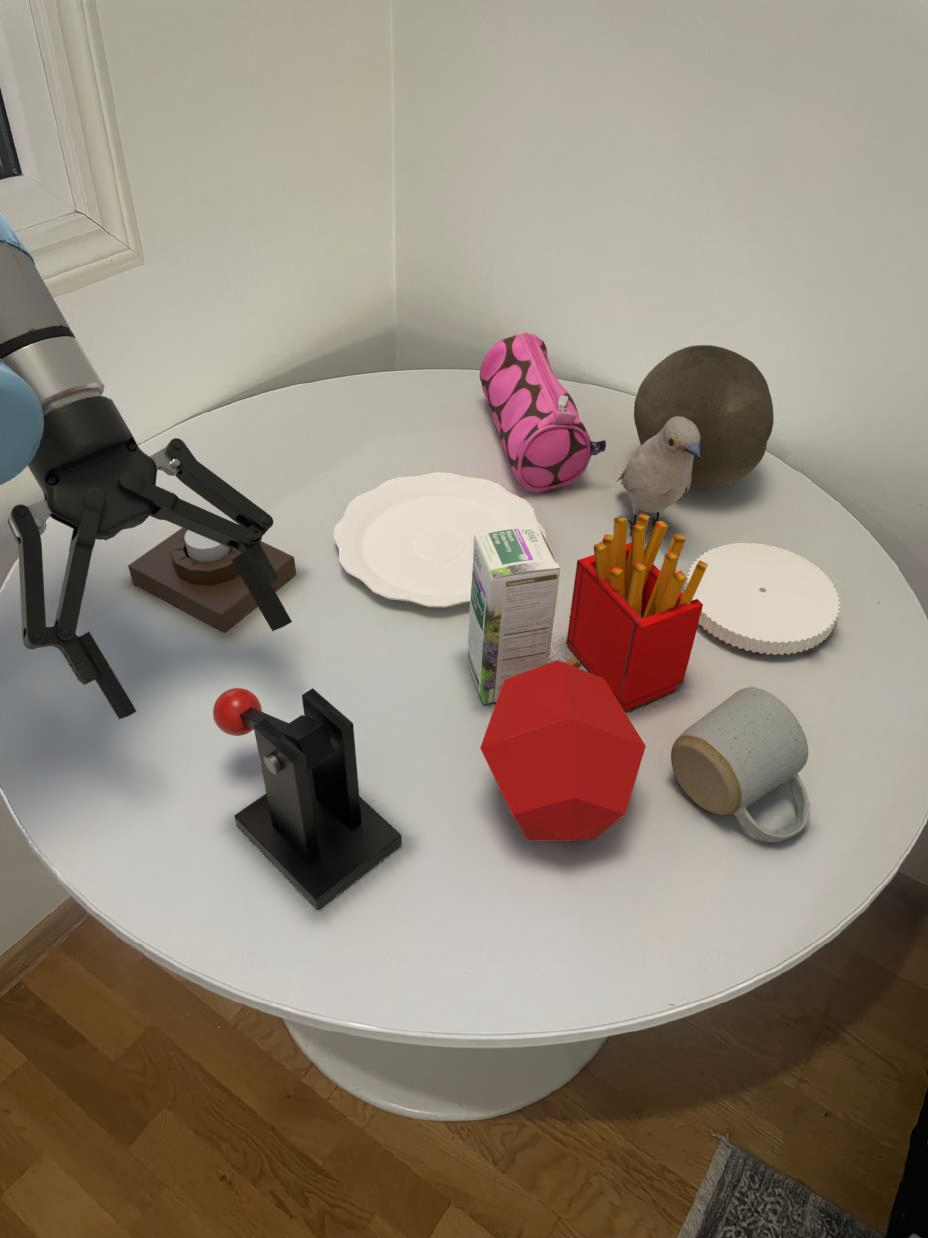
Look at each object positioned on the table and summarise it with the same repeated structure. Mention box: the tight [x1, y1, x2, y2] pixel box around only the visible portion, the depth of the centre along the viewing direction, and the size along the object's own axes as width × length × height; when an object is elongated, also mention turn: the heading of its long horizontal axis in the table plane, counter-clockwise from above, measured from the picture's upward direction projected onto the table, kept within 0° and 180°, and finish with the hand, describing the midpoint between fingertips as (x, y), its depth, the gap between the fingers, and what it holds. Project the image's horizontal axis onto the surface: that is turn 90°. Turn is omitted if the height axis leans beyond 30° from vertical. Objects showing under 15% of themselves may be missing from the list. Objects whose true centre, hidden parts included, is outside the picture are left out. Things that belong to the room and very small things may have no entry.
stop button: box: [184, 530, 231, 562], centre depth 93 cm, size 4×4×2 cm
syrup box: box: [467, 526, 561, 705], centre depth 82 cm, size 6×6×14 cm
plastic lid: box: [683, 541, 841, 656], centre depth 93 cm, size 14×14×2 cm
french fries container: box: [566, 512, 708, 713], centre depth 84 cm, size 7×9×14 cm
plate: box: [332, 471, 547, 609], centre depth 100 cm, size 21×21×2 cm
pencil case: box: [479, 332, 607, 493], centre depth 111 cm, size 21×10×10 cm, turn 13°
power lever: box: [212, 687, 335, 769], centre depth 71 cm, size 13×4×4 cm, turn 44°
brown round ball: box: [633, 344, 775, 489], centre depth 104 cm, size 14×14×15 cm
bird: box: [615, 416, 701, 538], centre depth 98 cm, size 5×14×15 cm, turn 17°
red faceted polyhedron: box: [479, 656, 647, 842], centre depth 74 cm, size 12×12×15 cm
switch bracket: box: [233, 687, 403, 911], centre depth 71 cm, size 10×8×13 cm
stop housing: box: [127, 527, 297, 633], centre depth 94 cm, size 12×10×4 cm
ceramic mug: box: [670, 686, 811, 843], centre depth 76 cm, size 11×8×8 cm
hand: (209, 669), depth 75 cm, fingers open, 13 cm apart
